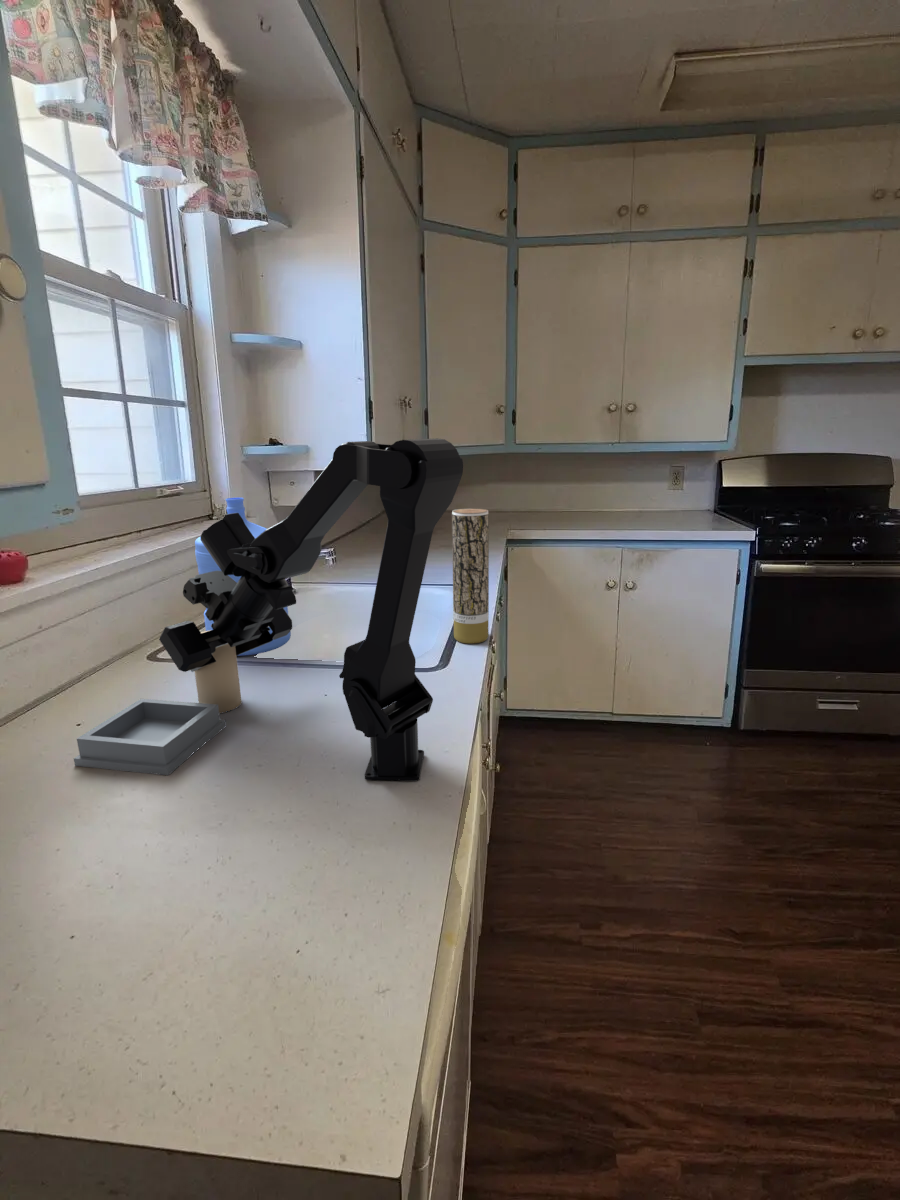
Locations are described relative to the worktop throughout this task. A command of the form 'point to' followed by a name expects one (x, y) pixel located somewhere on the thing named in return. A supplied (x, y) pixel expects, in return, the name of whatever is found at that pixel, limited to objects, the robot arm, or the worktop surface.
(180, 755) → the grey rimmed tray
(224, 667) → the beige knobbed cylinder
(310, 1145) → the worktop surface
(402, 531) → the robot arm
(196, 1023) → the worktop surface
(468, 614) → the paper tube
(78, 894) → the worktop surface
